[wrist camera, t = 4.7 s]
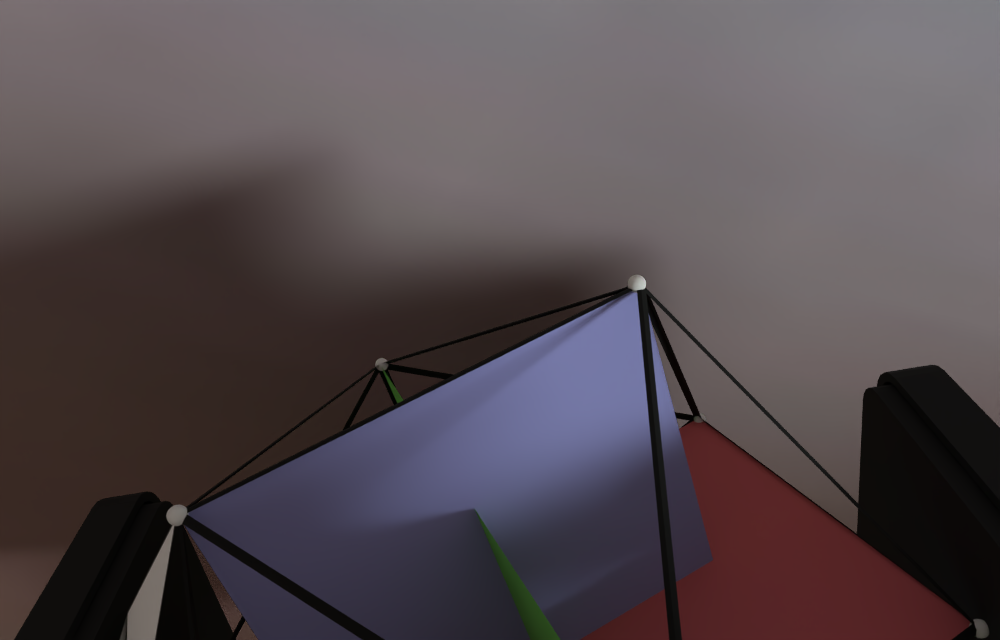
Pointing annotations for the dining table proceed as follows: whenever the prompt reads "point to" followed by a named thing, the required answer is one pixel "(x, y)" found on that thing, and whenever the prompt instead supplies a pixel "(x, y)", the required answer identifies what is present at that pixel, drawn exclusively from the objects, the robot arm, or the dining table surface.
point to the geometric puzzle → (543, 515)
